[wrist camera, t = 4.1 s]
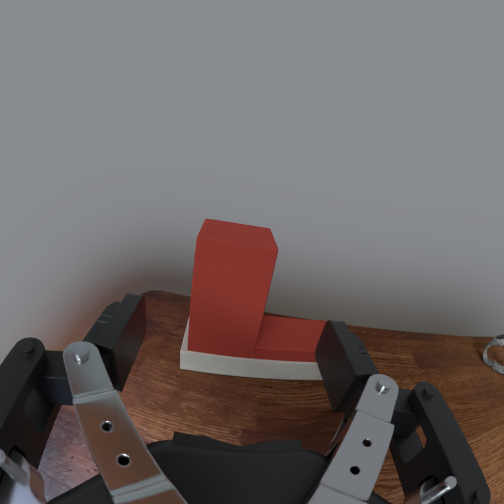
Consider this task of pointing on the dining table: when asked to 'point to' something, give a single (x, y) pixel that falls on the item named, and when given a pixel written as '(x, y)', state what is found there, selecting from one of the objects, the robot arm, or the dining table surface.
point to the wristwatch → (494, 365)
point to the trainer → (243, 310)
